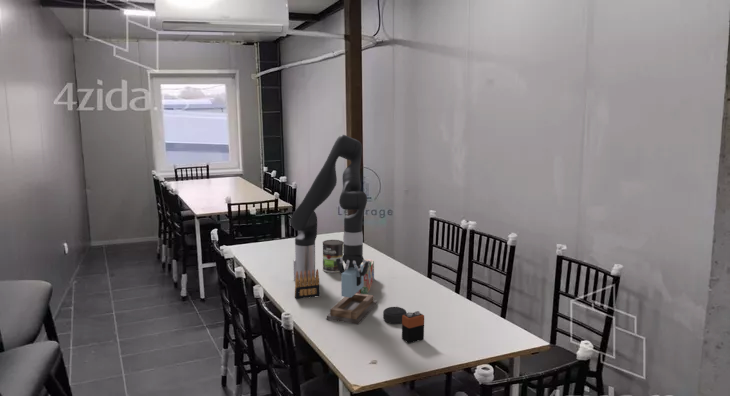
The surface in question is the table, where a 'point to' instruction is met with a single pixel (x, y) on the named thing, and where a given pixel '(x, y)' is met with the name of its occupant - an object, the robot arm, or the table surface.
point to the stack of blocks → (368, 277)
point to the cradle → (352, 309)
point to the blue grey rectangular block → (350, 282)
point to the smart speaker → (394, 314)
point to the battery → (413, 327)
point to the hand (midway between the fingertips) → (352, 284)
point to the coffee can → (332, 255)
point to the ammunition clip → (307, 285)
